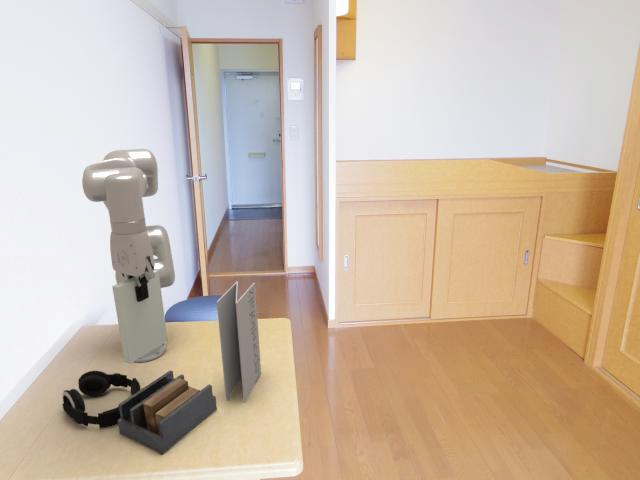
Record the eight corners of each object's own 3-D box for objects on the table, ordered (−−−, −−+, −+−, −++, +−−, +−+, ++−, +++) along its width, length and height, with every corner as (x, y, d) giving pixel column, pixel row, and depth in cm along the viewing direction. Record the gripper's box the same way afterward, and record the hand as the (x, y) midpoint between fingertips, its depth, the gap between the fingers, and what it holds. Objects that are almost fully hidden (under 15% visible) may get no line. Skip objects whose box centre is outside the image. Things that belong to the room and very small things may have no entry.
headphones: (89, 361, 135) (152, 373, 132) (90, 383, 138) (153, 396, 135) (43, 399, 118) (115, 414, 116) (47, 424, 121) (117, 440, 118)
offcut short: (159, 438, 115) (155, 413, 113) (193, 411, 125) (191, 387, 123) (167, 443, 114) (164, 417, 112) (202, 414, 124) (199, 390, 122)
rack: (119, 433, 117) (114, 406, 115) (176, 392, 133) (172, 368, 130) (162, 454, 110) (158, 426, 108) (216, 408, 126) (214, 383, 123)
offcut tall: (148, 433, 117) (143, 403, 114) (183, 406, 127) (179, 378, 124) (156, 437, 116) (151, 406, 113) (191, 410, 126) (187, 381, 123)
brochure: (244, 403, 128) (236, 303, 119) (225, 400, 129) (216, 301, 120) (261, 373, 141) (255, 282, 132) (243, 372, 142) (236, 281, 133)
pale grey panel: (124, 361, 114) (112, 286, 108) (162, 339, 124) (152, 269, 118) (130, 363, 113) (117, 287, 107) (167, 341, 123) (158, 270, 117)
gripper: (92, 226, 109) (104, 298, 115) (138, 235, 102) (149, 311, 107) (119, 218, 115) (130, 287, 121) (165, 226, 108) (174, 299, 113)
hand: (139, 298), depth 114 cm, fingers closed on pale grey panel, 2 cm apart
